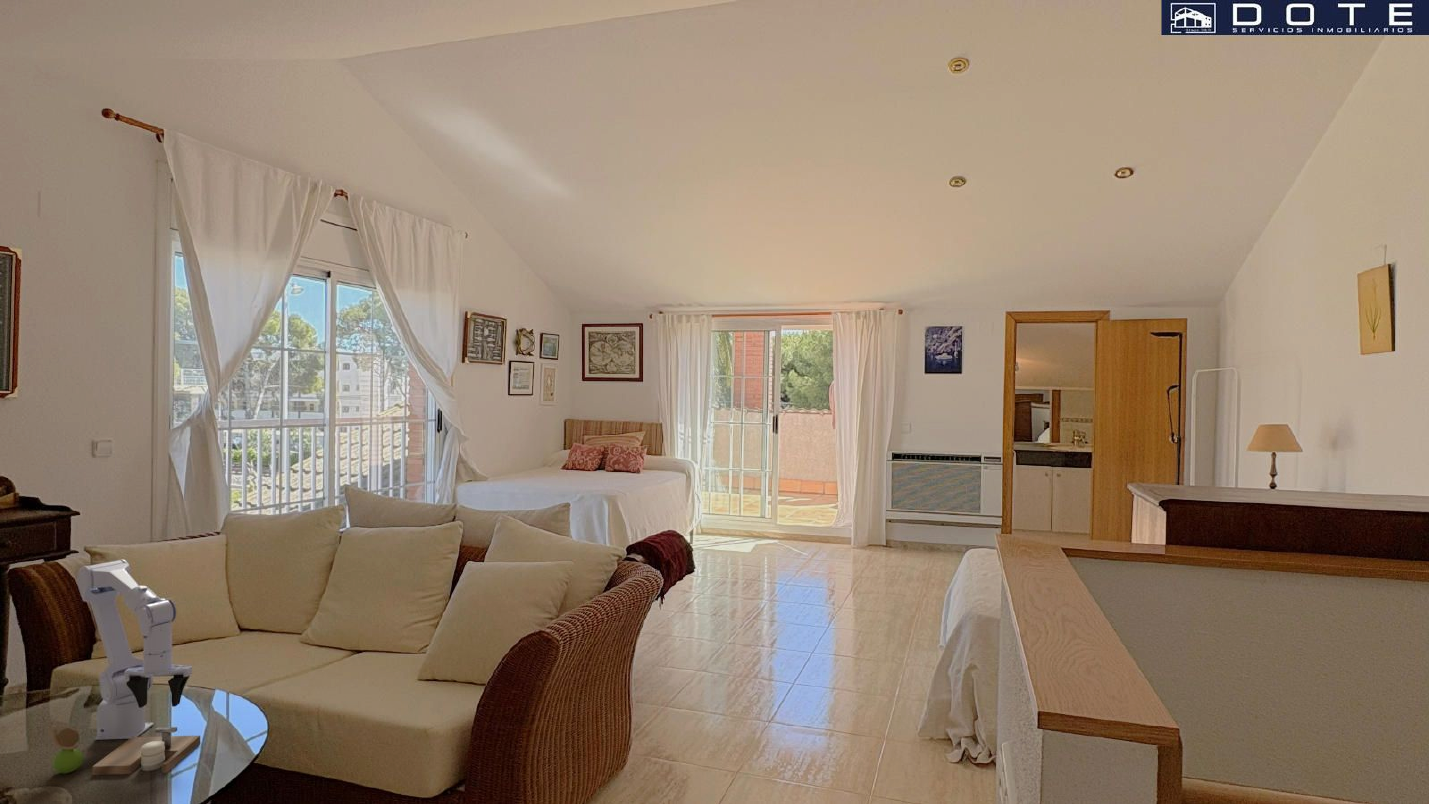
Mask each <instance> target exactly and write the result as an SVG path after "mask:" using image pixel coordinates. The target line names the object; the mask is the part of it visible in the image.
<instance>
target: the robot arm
mask: <svg viewBox="0 0 1429 804" xmlns="http://www.w3.org/2000/svg"><path fill="white" fill-rule="evenodd" d="M76 584H77V588H78V591H79V593H80V597H81V599H82V602H86V603H90V606H91V607H90V608H91V610H92V612H93V617H94V619H95V624H96V626H97V629H98V633H99V637H100V639H101V642H102V646H103V649H104V652H105V655H106V660H107V662H108V665H107V666H106V667H105V668H104V669H103V670H102V671H101V673H100V674H99V676H98V681H99V693H100V696H101V698H102V701H101V702H100V704H99V705H98V708H97V710H96V731H97V732H96V734H97V735H96V737H95V738H94V740H98V741H99V740H126V739H127V740H128V739H130V738H131V737H140V735H141V734H144V732H145V731H147V730H148V729H150V728H151V727H152V726H154V722H146V706H147V705H148V695H149V691H150V690H151V689H152V688H153V685H154V679H155V678H156V677H159V678H160V677H172V678H170V679H168V680H167V681H168V682H167V683H168V686H169V689H170V694H171V697H170V698H171V699H170V700H171V702H170V703H171V707H177V706H178V705H180V703H181V700H182V699H181V698H182V694H183V691H184V689H185V685H186V684H187V682H188V680H189V678H190V677H191V675H192V674H193V666H192V665H181V664H173V635H172V633H173V632H172V623H173V622H174V621H175V620H176V619H177V607H176V604H175V602H174V601H173V600H172V599H171V598H169V597H168V598H165V597H164V598H160V597H159V596H158V595H157V594H156V593H155V592H154V591H153V589H150V587H148V586H146V585H139V583H138V582H137V581H135V579H134V578H133V576H131V565H130V564H129V562H128V561H127V560H125V559H124V558H121V559H117V560H111V561H108V562H101V563H97V564H91V565H82V566H81V567H79V570H78V572H77V576H76ZM120 595H122V596H123V597H124V600H123V602H124V604H125V605H126V607H127V608H129V609H130V610H131V611H132V612H133V613H134V614H136V619H137V620H136V621H137V623H138V625H139V632H140V635H141V636H142V643H143V644H142V645H143V648H142V649H143V658H140V657H137V656H133V653H132V650H131V646H130V643H129V641H128V637H127V635H126V631H125V628H124V625H123V621H122V618H121V615H120V612H119V609H118V605H117V602H116V598H117V597H118V596H120ZM154 677H155V678H154Z"/></svg>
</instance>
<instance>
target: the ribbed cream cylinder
mask: <svg viewBox="0 0 1429 804" xmlns="http://www.w3.org/2000/svg"><path fill="white" fill-rule="evenodd" d="M164 751H165V746H164V742H163V741H152V742H149V743H146V744H144V745H143V746H142V747H141V760H142V761H141V765H140V766H141V770H142V771H144V772H146V771H147V772H149V771H150V772H151V771H154V770H155V771H156V770H158V769H160V768H162V764H163V763H165V762H166V759H165V754H164Z"/></svg>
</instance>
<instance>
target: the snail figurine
mask: <svg viewBox="0 0 1429 804" xmlns="http://www.w3.org/2000/svg"><path fill="white" fill-rule="evenodd" d="M53 723H55V722H54V720H51V721H49V722H48V725H50V726H49V728H48V731H49V733H50V736H51V740H52V742H53V744H54V746H55V747H56V748H58V749H59V750H60V751H59V752H57V754H55V756H54V758H53V759H52V768H53V769H54V771H55V772H56V773H59V774H70V773H72V772H74V771H76V770H77V769H78V768H79V767H80V766H81V765H82V763H83V759H84V755H83V752H82V750H80V749H79V748H78V747H79V746H80V744H79V743H78V742H79V739H80V734H79V731H78V730H77V729H76V728H73V727H65V728H62V729H61V730H60V731H59V732H57V731H58V727H57V726H56V725H52V724H53Z"/></svg>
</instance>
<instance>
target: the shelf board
mask: <svg viewBox="0 0 1429 804" xmlns="http://www.w3.org/2000/svg"><path fill="white" fill-rule="evenodd" d="M152 741H162V736H138V737H131V738H130V739H127V740H126V741H125V742H123V743H121V744H120V745H119V746H117V748H115V749H114V750H112V751H111V752H110V753H109V754H106V756H105V757H103V758H102V759H100V760H99V761H97V762H96V763H95V764H93V766H92V776H101V775H103V776H104V775H106V776H107V775H130V774H132V773H133V772H134V771H135V770H137V769H138V768H139V767H140V766H141V761H142V760H141V747H142V746H143V745H144V744H146V743H149V742H152ZM200 744H201V735H171V748H169V749H166V750H165V751H164V754H165V763H163V764H162V767H161V771H162V774H167V773H168V772H170V771H171V770H172V769H173V768H174V767H175V766H176V765H178V764H179V763H180V762H181V761H182V760H183V759H185V758H186V757H187V756H188V755H189V754H190V753H191V752H192V751H193V750H195V749H196V748H197V747H199V745H200Z"/></svg>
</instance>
